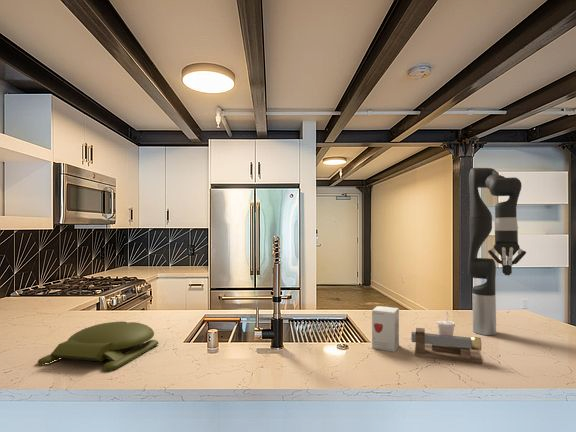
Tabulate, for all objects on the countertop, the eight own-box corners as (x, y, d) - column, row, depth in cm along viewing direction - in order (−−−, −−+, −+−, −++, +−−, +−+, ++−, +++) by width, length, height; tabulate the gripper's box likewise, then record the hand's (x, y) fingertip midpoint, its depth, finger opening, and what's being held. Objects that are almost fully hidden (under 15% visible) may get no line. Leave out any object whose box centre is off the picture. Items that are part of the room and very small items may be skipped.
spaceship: (112, 373, 117) (113, 343, 117) (33, 366, 123) (34, 337, 123) (168, 340, 151) (169, 317, 151) (104, 336, 157) (105, 313, 157)
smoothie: (457, 351, 133) (456, 313, 134) (438, 349, 135) (438, 312, 135) (453, 345, 139) (452, 309, 140) (435, 344, 141) (435, 308, 141)
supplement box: (371, 348, 140) (371, 309, 140) (377, 342, 147) (376, 305, 148) (395, 352, 135) (394, 312, 136) (399, 345, 143) (399, 307, 144)
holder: (416, 342, 147) (415, 320, 147) (476, 348, 139) (475, 325, 139) (414, 355, 131) (414, 331, 132) (482, 364, 123) (481, 338, 123)
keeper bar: (412, 340, 137) (411, 329, 137) (479, 348, 128) (479, 335, 128) (411, 344, 133) (411, 332, 133) (481, 352, 124) (481, 339, 124)
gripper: (523, 229, 138) (524, 274, 137) (485, 229, 143) (485, 273, 142) (528, 229, 131) (530, 277, 130) (487, 229, 136) (488, 275, 135)
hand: (507, 275), depth 136 cm, fingers closed
